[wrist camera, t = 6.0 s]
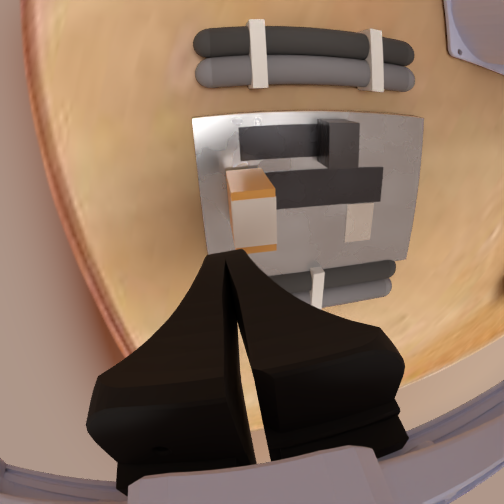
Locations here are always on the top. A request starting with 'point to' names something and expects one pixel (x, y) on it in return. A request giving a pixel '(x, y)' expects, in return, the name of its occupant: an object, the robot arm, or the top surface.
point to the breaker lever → (252, 210)
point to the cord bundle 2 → (339, 283)
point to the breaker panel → (316, 183)
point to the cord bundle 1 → (302, 57)
